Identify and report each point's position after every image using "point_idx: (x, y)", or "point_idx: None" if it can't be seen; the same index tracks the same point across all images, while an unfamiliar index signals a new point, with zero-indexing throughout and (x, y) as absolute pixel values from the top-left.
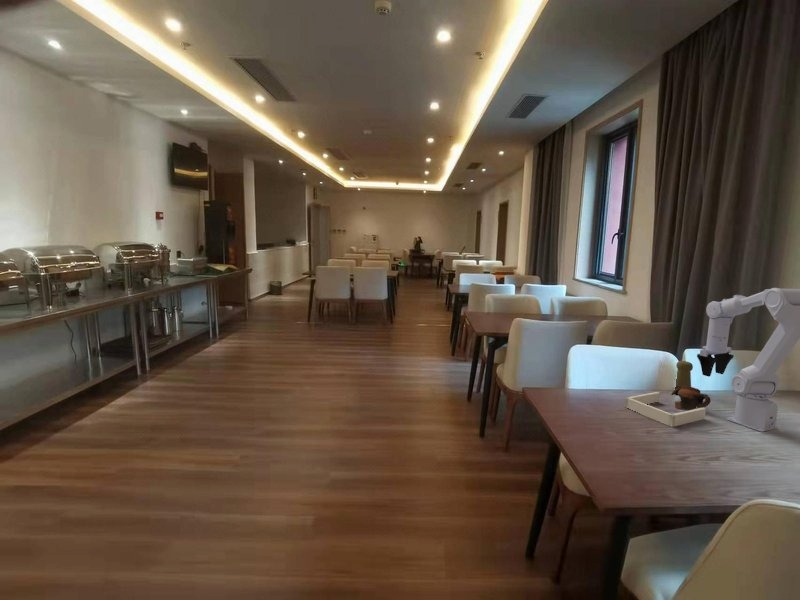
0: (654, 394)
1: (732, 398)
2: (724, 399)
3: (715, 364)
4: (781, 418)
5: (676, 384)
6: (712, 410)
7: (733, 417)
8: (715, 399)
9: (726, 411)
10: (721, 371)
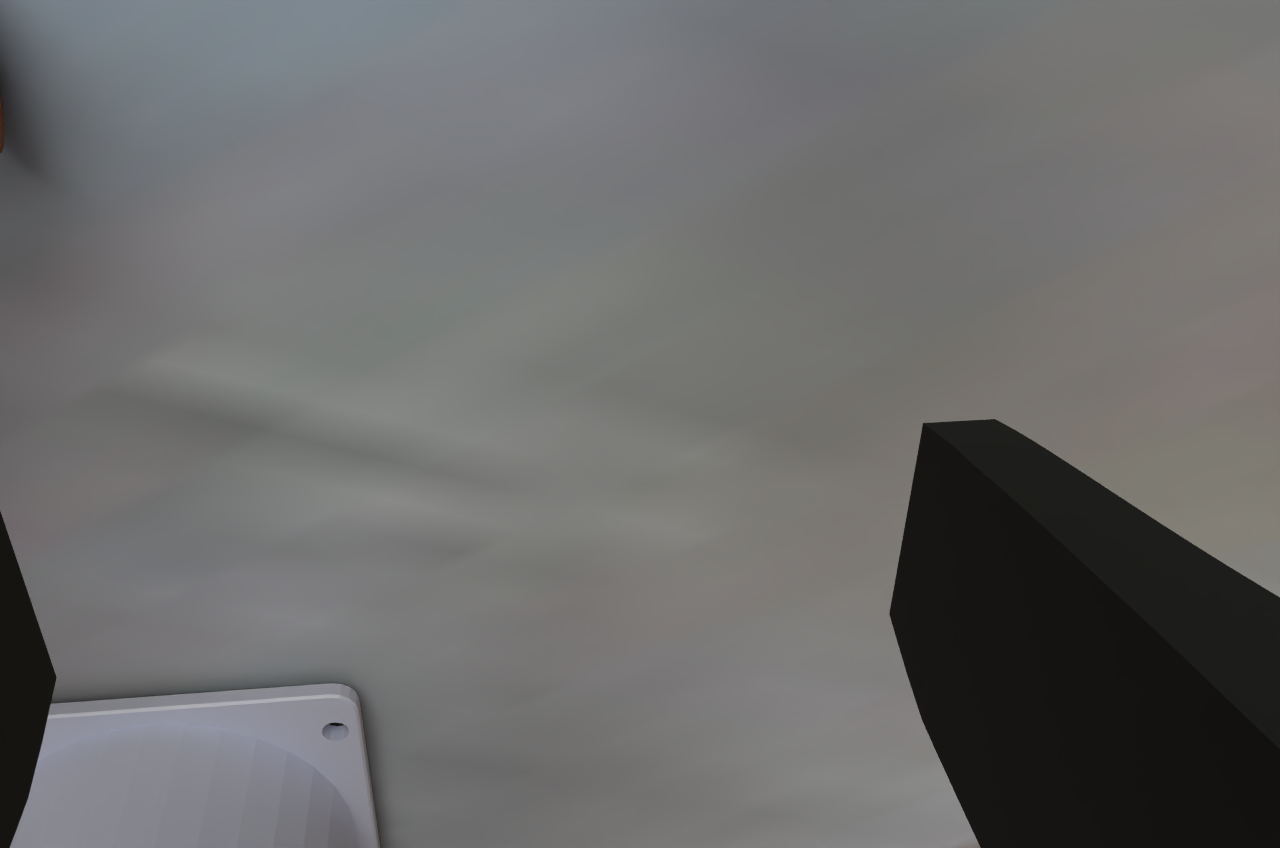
0: None
1: (1276, 124)
2: (1053, 101)
3: (1129, 609)
4: (855, 811)
5: None
6: (105, 399)
7: (84, 731)
8: (870, 28)
9: (343, 496)
10: (934, 660)
